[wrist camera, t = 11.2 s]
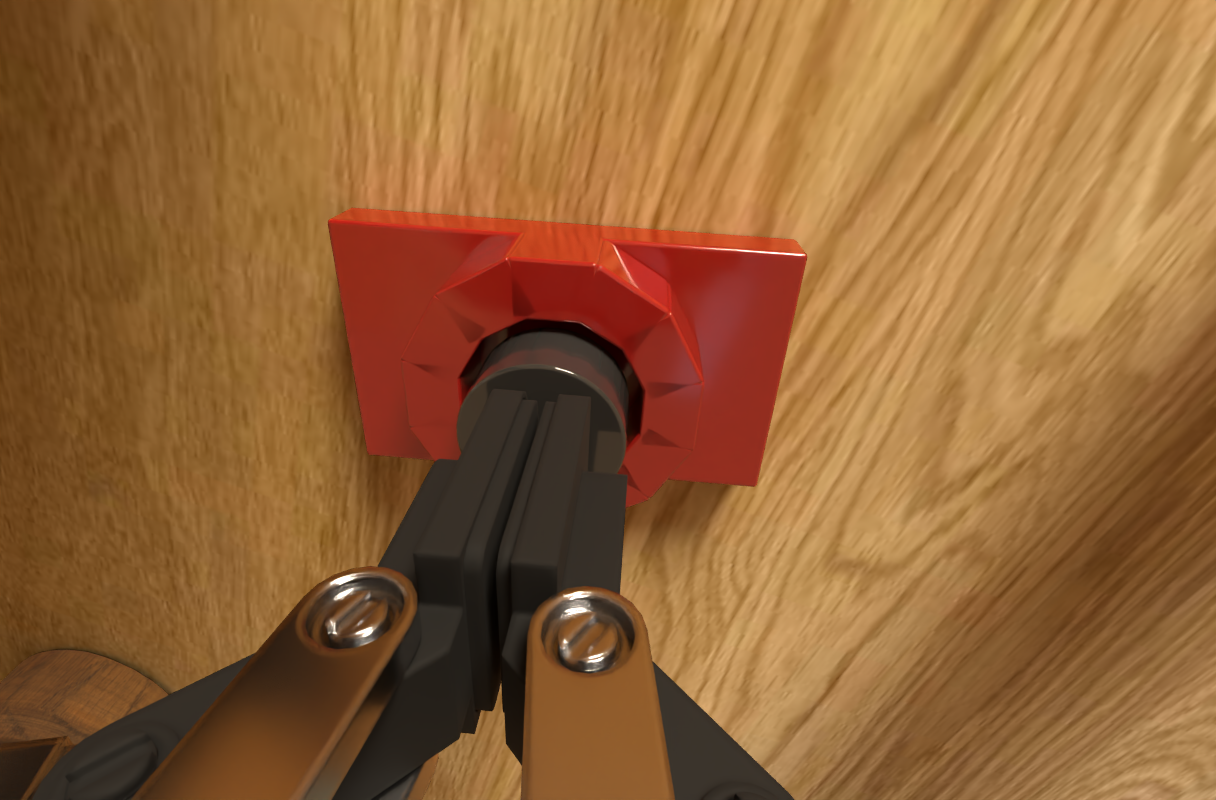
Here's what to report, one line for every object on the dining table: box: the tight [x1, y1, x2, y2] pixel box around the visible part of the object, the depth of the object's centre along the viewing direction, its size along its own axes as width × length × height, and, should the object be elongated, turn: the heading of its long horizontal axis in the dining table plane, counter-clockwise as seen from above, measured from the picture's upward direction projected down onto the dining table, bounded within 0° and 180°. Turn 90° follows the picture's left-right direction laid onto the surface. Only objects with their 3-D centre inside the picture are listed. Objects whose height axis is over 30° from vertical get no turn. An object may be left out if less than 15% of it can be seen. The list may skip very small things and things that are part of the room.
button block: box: [328, 208, 807, 508], centre depth 14 cm, size 10×6×3 cm, turn 87°
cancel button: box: [456, 327, 629, 474], centre depth 12 cm, size 3×3×2 cm
